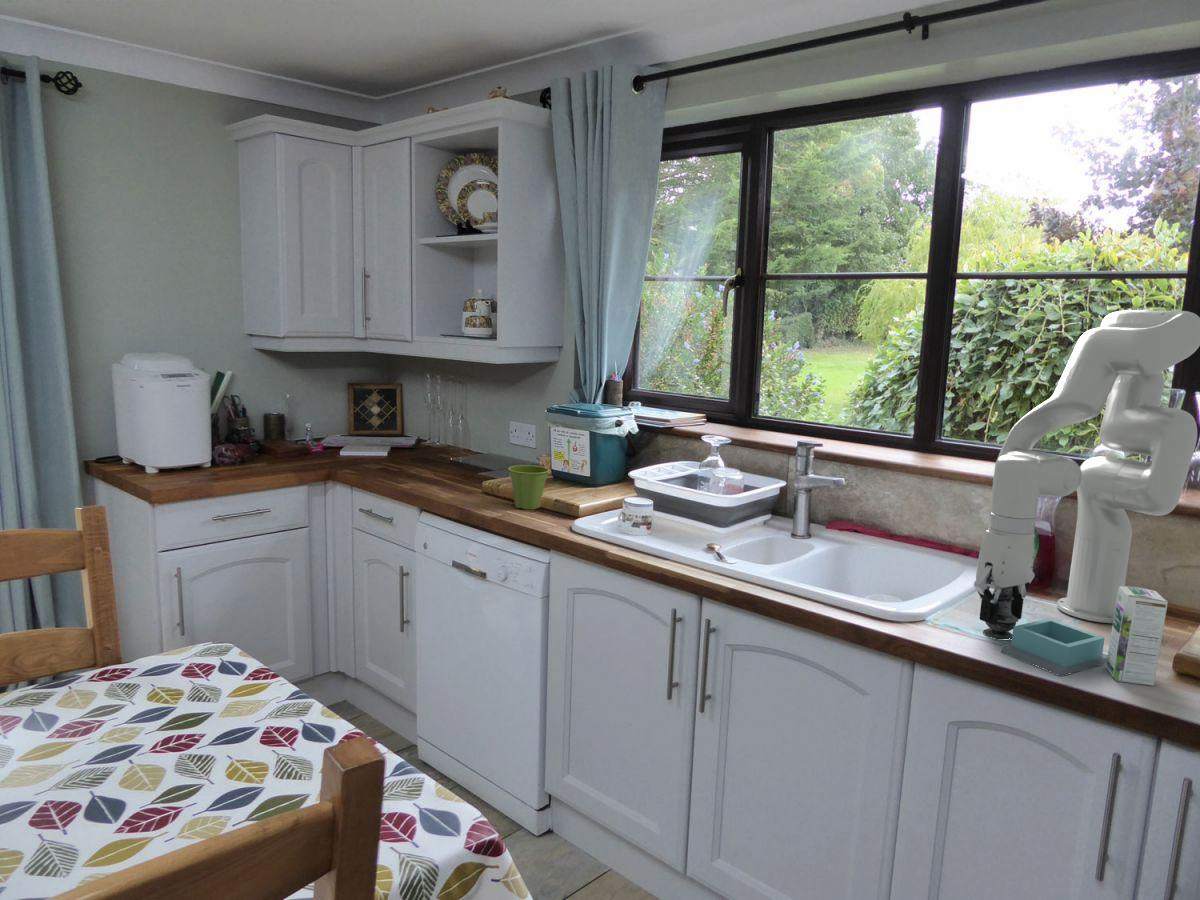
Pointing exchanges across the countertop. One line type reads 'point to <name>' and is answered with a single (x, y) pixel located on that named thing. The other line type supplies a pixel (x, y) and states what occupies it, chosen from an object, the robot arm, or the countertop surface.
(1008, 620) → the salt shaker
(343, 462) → the countertop surface
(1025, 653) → the box
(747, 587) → the countertop surface
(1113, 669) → the syrup box
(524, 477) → the plant pot
